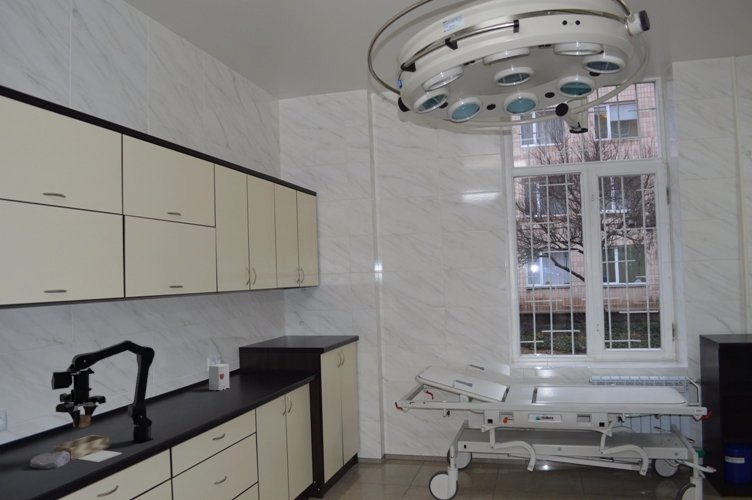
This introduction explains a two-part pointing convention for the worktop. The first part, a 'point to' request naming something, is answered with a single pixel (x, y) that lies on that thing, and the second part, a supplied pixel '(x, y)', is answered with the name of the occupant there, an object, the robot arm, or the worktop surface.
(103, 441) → the slot box
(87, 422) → the walnut block
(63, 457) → the stone block
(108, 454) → the grey mat
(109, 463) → the worktop surface
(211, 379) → the supplement box
